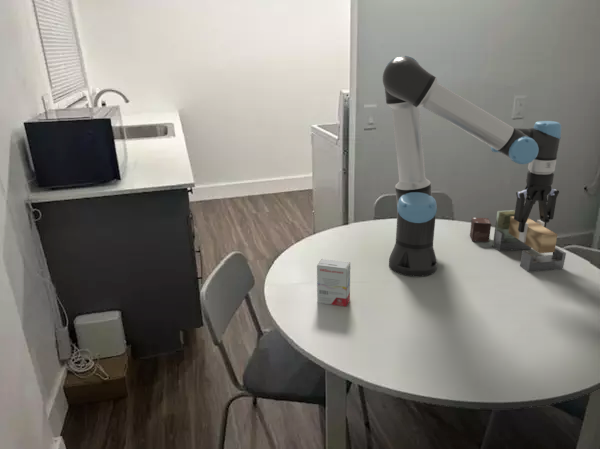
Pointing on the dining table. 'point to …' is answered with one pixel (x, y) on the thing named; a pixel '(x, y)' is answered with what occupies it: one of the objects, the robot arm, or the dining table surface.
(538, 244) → the light wood long block
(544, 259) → the rest saddle
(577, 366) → the dining table surface
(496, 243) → the cup bracket
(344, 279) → the ink box
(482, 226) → the box
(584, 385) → the dining table surface
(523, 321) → the dining table surface
